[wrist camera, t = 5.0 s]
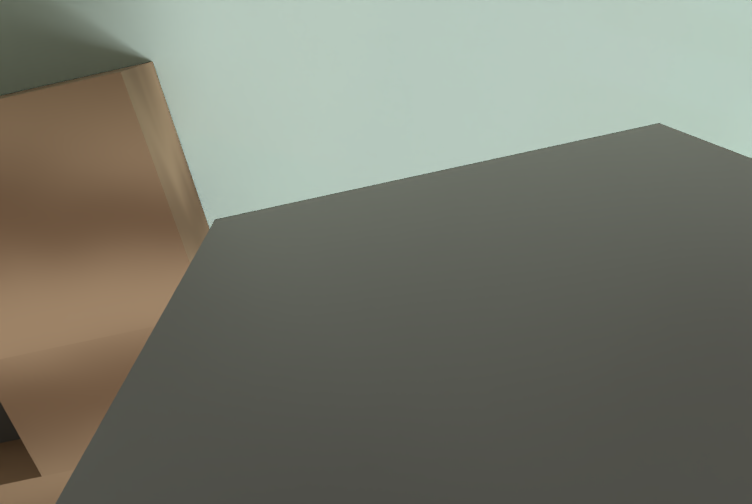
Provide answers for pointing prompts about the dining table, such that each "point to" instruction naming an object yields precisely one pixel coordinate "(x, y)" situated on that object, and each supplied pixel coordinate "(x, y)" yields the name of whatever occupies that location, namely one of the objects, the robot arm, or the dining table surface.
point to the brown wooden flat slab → (82, 260)
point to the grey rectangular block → (458, 342)
